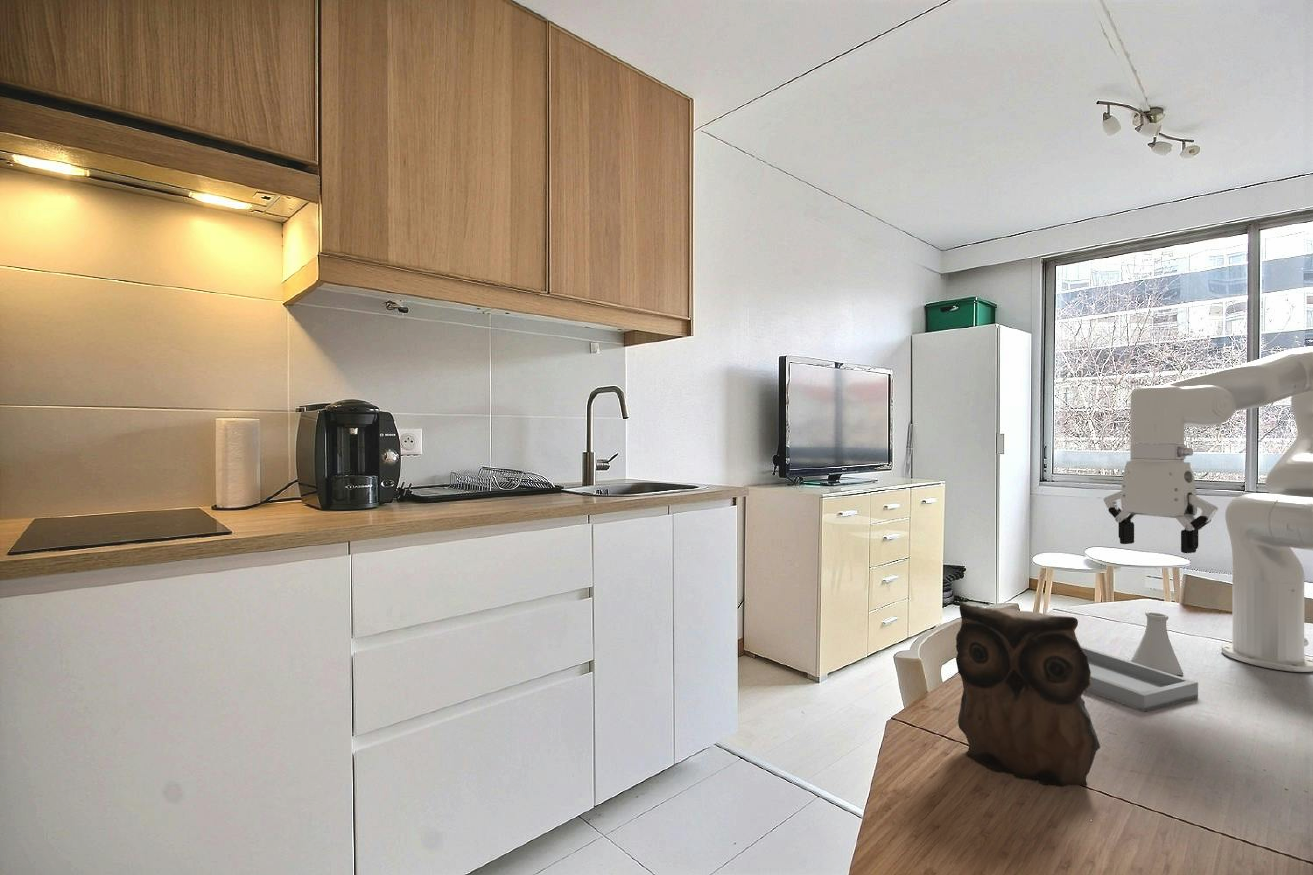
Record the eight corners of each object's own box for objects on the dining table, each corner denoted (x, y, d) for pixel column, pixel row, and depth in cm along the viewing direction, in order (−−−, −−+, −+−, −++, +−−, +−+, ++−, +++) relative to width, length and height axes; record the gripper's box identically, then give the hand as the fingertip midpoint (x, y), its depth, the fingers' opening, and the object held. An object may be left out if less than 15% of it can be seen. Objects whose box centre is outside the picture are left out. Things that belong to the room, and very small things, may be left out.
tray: (1071, 655, 114) (1071, 642, 114) (1197, 697, 95) (1197, 682, 95) (1020, 665, 109) (1020, 651, 109) (1144, 711, 90) (1144, 695, 90)
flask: (1193, 678, 103) (1193, 621, 104) (1145, 675, 105) (1146, 618, 105) (1166, 663, 111) (1166, 610, 111) (1122, 660, 112) (1122, 607, 112)
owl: (1105, 791, 70) (1105, 620, 70) (1003, 795, 68) (1004, 622, 69) (1028, 737, 82) (1029, 593, 82) (941, 740, 81) (942, 594, 81)
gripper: (1228, 455, 101) (1228, 555, 101) (1117, 453, 117) (1117, 539, 117) (1203, 455, 99) (1203, 558, 98) (1093, 453, 115) (1092, 541, 114)
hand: (1156, 547), depth 108 cm, fingers open, 9 cm apart
